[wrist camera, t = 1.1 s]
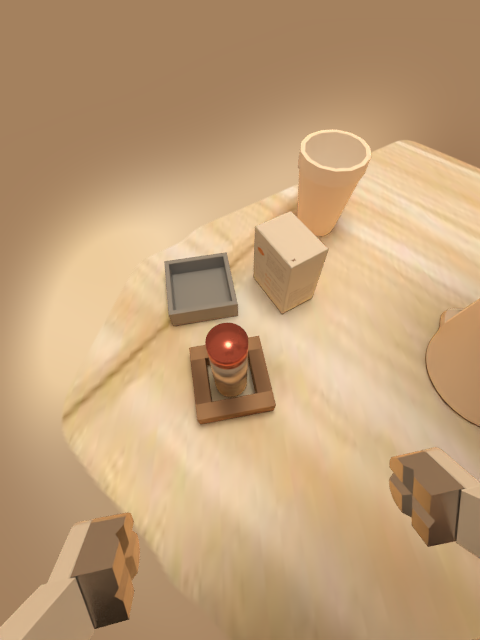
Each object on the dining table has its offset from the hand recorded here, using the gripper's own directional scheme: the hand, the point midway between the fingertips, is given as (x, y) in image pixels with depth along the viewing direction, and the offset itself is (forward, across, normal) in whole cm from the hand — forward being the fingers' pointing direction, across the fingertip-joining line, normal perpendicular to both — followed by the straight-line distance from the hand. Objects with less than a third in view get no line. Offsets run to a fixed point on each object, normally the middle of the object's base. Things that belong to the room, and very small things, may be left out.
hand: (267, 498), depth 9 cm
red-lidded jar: (+28, -1, +10) cm, 30 cm away
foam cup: (+45, -20, -8) cm, 50 cm away
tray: (+38, +2, 0) cm, 38 cm away
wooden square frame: (+28, -1, +10) cm, 30 cm away
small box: (+37, -10, +1) cm, 38 cm away
